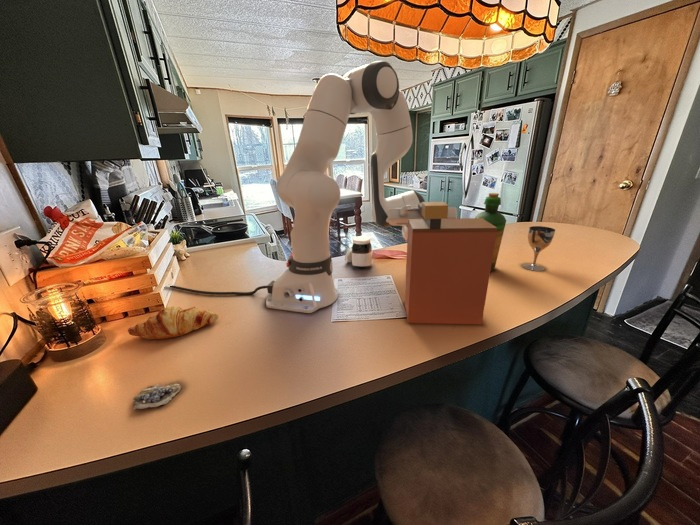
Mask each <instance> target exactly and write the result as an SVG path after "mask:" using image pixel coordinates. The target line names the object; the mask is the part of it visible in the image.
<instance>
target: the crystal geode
mask: <svg viewBox="0 0 700 525" xmlns="http://www.w3.org/2000/svg"><path fill="white" fill-rule="evenodd" d="M181 390H182V386H181V384H180V383H173V384H170V383H169V384H168V385H166V386H165V383H163V384H162V385H160V384H159V383H157V384H156V385H150V386H147V387H145V388H143V389H142V390H141V391H140V392H139V394H137V395H135V396H134V397H133V401H132V403H133V404H135V405H133V407H132V409H131V410H133V409H134V410H137V409H138V410H143V409H148V408H157V407H160V406H161V405H162V406H163V405H167V404H168V403H169V402H171V400H173V398H174V397H176V395H177V394H178V393H179V392H181Z"/></svg>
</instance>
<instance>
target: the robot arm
mask: <svg viewBox="0 0 700 525" xmlns="http://www.w3.org/2000/svg"><path fill="white" fill-rule="evenodd" d="M362 113H363V114H365V113H366V114H367V113H369V114H370V116H371V117H372V119H373V123H374V130H375V135H376V147H375V150H374V152H373V153H371V155H370V183H371V184H370V185H371V203H372V205H371V216H372V220H373V221H374V224H375V225H377V226H379V227H380V228H384V229H385V228H389V227H391V226H396V227H397V226H399V227H400V226H402V227H401V235H402V237H403V239H404V241H406V242H407V238H408V219H423V218H422V217H421V215H420V214H419V212H418V203H422V202H426V201H425V199H424V197H423V195H421V194H420V193H419V192H418V191H416V190H413V189H412V190H409V191H405V192H402V193H399V194H396V195H392V196H389V197H385V181H384V180H385V174H386V173H387V171H388V170H389V169H390V168H391V167H392V166H393V165H395V163H397V162H398V161H400V160H401V159H402V158H403V157H404V156H406V155H407V153H408V152H409V151H410V148H411V147H412V144H413V141H414V140H413V137H414V136H413V127H412V120H411V115H410V111H409V106H408V103H407V101H406V97H405V94H404V92H403V91H402V90H401V89H400V82H399V78H398V74H397V72H396V70H395V68H394V67H393V65H392V64H391V63H390V62H388V61H386V60H375V61H372V62H370V63H368V64H364V65H362V66H357V67H355V68H353V69H351V70H349V71H348V72H346V73H344V74H342V75H339V74H337V73H327V74H324V75H323V76H322V77H320V78H319V80H318V82H317V84H316V86H315V88H314V90H313V92H312V95H311V98H310V100H309V103H308V105H307V108H306V112H305V116H304V120H303V123H302V126H301V130H300V133H299V137H298V139H297V142H296V144H295V147H294V150H293V152H292V153H291V155H290V157H289V160H288V162H287V164H286V166H285V168H284V170H283V172H282V174H281V175H280V176H279V177H278V179H277V180H276V185H275V189H276V194H277V196H278V198H279V199H280V200H281V201H282V202H283V204H285V205H286V206H287V207H289V208H293V210H294V221H293V227H292V229H291V230H290V241H291V250H292V253H291V254H290V255H289V258H288V259H287V262H286V263H285V265H286V268H287V269H285V271H283V272H282V273H281V274H280V275H279V276H278V277H277V278H276V279H275V280H271V282H269V283H268V284H267V285H261V286H258V287H256V288H255V289H254V290H252V291H247V292H246V291H245V292H241V291H205V290H199V289H191V288H186V287H181V286H177V285H172V284H171V285H172V286H170V287H169V289H175V290H179V291H185V292H190V293H195V294H202V295H217V296H218V295H219V296H220V295H221V296H225V295H226V296H227V295H229V296H230V295H231V296H233V295H234V296H251V295H254V294H256V293H257V292H258V291H260V290H264V289H266V291H267V294H268V295H267V297H266V299H265V306H266V308H268V309H275V310H281V311H288V312H289V311H290V312H296V313H304V314H312V313H314V312H316V311H317V310H319V309H322V308H325V307H328V306H330V305H332V304H334V303H335V302H336V301H337V299H338V297H339V295H338V294H339V293H338V292H337V289H336V286H335V283H334V278H333V270H334V268H333V258H332V254H331V252H330V225H331V219H332V215H333V212H334V210H335V209H336V208H338V205H339V203H340V200H341V189H340V188H341V187H340V185H339V184H338V182H337V180H335V179H334V178H333V177H331V176H330V175H328V174H326V171H327V169H328V168H329V166H330V165H331V164H332V163H333V162H334V161H335V160H336V159H337V157H338V155H339V152H340V148H341V145H342V142H343V138H344V135H345V133H346V132H345V131H346V129H347V125H348V121H349V117H350V115H356V114H362ZM447 219H458V209H457V207H455V206H448V216H447Z"/></svg>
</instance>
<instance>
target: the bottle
mask: <svg viewBox="0 0 700 525" xmlns="http://www.w3.org/2000/svg"><path fill="white" fill-rule="evenodd" d="M483 204H484V205H485V208H484V210H483V211H481V212H479V213H478V214H477V215H476V216H475V217H474V218H483V219H484V220H486V221H487V222H489V223H491V224H492V225H494V226H495V227H497V234H496V240H495V246H494V252H493V258H492V264H491V270H490V272H492V271H495V269H496V265H497V261H498V256H499V252H500V249H501V244H502V240H503V236H504V231H505V228H506V223H507V218H506V217H505V215H504V214H502V213H501V212H499V208H500V207H499V206H502V197H500V193H497V192H490V193H488V196H486V197H485V199H484V203H483Z"/></svg>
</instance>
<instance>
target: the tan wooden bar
mask: <svg viewBox="0 0 700 525" xmlns="http://www.w3.org/2000/svg"><path fill="white" fill-rule="evenodd" d="M448 207H449V204H447V203H446V202H445V201H425V202H422V203H418V212H419V214H420V215H421V217H422V218H423V220H424V221H425V223H426V224H427V226H428V227H429V228H430V229H440V228H441V219H447V216H448Z"/></svg>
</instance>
